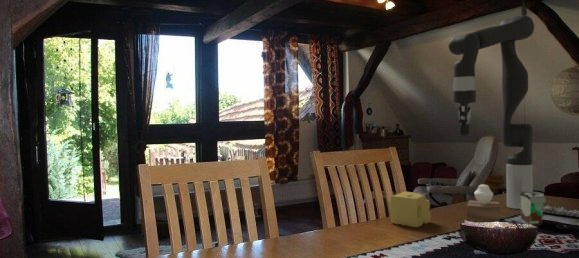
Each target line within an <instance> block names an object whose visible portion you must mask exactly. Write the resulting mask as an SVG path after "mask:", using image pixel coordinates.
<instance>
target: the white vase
mask: <svg viewBox="0 0 579 258" xmlns="http://www.w3.org/2000/svg"><path fill="white" fill-rule="evenodd" d="M473 194H474V198H475V199H476V201H478V203H479V204H482V205H488V204H489V203H490V202H492V200H493V197H494V193H493V191H492V190H491V189H490V186H489V185H487V184H484V183H483V184H480V185H478V186H477V188H476V190H475V191H474V192H473Z"/></svg>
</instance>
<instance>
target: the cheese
mask: <svg viewBox="0 0 579 258" xmlns="http://www.w3.org/2000/svg"><path fill="white" fill-rule="evenodd" d="M430 208H431V203H430V200H429V199H427V197H426V196H425V195H423V194H421V193H417V192H416V193H415V192H413V191H412V192H411V191H402V192H400V193H397V194H394V195H391V196H390V222H391V224H393V223H394V224H395V225H399V224H401V225H400V226H406V225H407V227H413V228H419V227H421V226H423V224H424V225H426V224H429V223H431V221H432V212H431V211H430Z"/></svg>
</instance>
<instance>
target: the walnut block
mask: <svg viewBox="0 0 579 258" xmlns="http://www.w3.org/2000/svg"><path fill="white" fill-rule="evenodd" d="M500 217H501V216H500V201H490V203H489V204H488V205H482V204H479V203H478V201H477V200H468V202H467V204H466V222H467V221H479V222H494V221H499V222H500Z"/></svg>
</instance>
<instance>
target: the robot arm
mask: <svg viewBox="0 0 579 258" xmlns="http://www.w3.org/2000/svg"><path fill="white" fill-rule="evenodd" d="M534 31H535V24H534V20H533V18H531V17H530V16H529V15H524V14H523V15H518V16H514V17H513V16H512V17H508V18H504V19H502V21H501V22H500V25H495V26H490V27H489V26H488V27H485V28H481V29H478V30H474V31H472V32H469V33H468V32H467V33H464V34H458V35H455V36H453V37H452V38H451V39H450V40H449V42H448V50H449V52H450V53H451V54H453V55H456V56H461V55H462V57H461V59H459V60H458V61H456V62H455V63H454V64H453V86H452V87H453V91H452V92H453V94H452V95H453V104H459V106H458V109H457V110H458V119H459V120H458V122H459V125H460V136H467V135H470V123H471V118H472V116H471V115H472V114H471V113H472V108H471V107H470V106H469V104H476V102H477V95H476V94H477V87H476V86H477V82H476V73H475V72H476V63H477V60H478V59H477V58H478V55H479V51H480V50H482V49H486V48H489V47H492V46H496V45H498V44H500V51H501V66H502V67H501V68H502V69H501V72H502V73H501V75H502V76H501V88H502V91H501V92H502V93H501V94H502V120H501V121H502V125H501V141H502V145H503V146H504V147H507V148H508V147H509V148H522V150H521V151H519V152H517V153H515V154H512V155H509V156H507V157H506V158H505V161H506V162H505V163H506V165H505V168H506V169H505V170H506V171H505V173H506V178H505V179H506V181H505V182H506V183H505V184H506V187H505V188H506V207H507V208H510V209H515V210H516V209H517V210H521V205H520V191H531V192H534V191H533V184H534V182H533V143H534V142H533V141H534V132H533V126H532V124H531V123H512V119H513V116H514V114H515V111H517V108H518V107H519V105H520V104H521V102H522V101H523V100H524V99H525V97H526V96H527V93H528V91H529V73H528V70H527V69H526V67H525V65H524V64H523V62H522V61H521V59H520V58H519V56H518V54H517V51H516V41H523V40H525V39H528V38H530V37H531V36H532V35H533V33H534Z"/></svg>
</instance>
